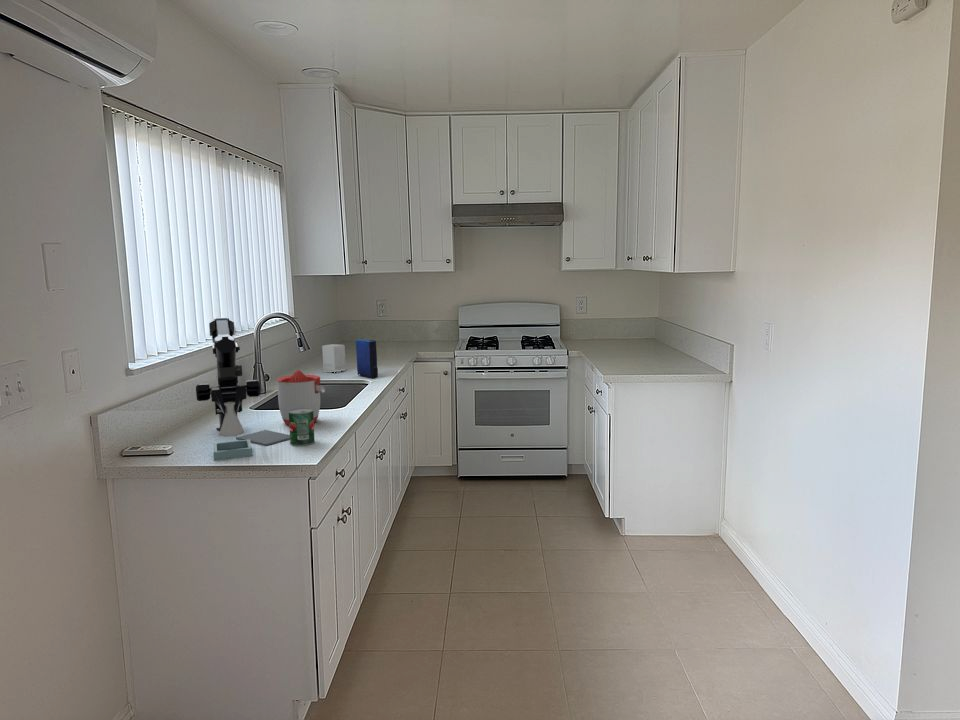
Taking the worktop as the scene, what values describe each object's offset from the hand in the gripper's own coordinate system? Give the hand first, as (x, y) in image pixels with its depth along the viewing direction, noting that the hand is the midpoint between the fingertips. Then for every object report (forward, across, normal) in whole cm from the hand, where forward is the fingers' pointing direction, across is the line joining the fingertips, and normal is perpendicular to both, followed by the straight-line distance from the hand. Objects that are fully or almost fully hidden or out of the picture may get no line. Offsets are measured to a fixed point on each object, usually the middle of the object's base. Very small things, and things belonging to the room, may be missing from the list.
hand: (230, 412), depth 199 cm
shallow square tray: (+9, 0, +10) cm, 13 cm away
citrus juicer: (-14, +26, +33) cm, 44 cm away
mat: (-1, +11, +20) cm, 23 cm away
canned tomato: (+6, +22, +13) cm, 26 cm away
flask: (+4, 0, +6) cm, 7 cm away
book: (-76, +70, +97) cm, 142 cm away
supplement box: (-93, +58, +115) cm, 159 cm away
